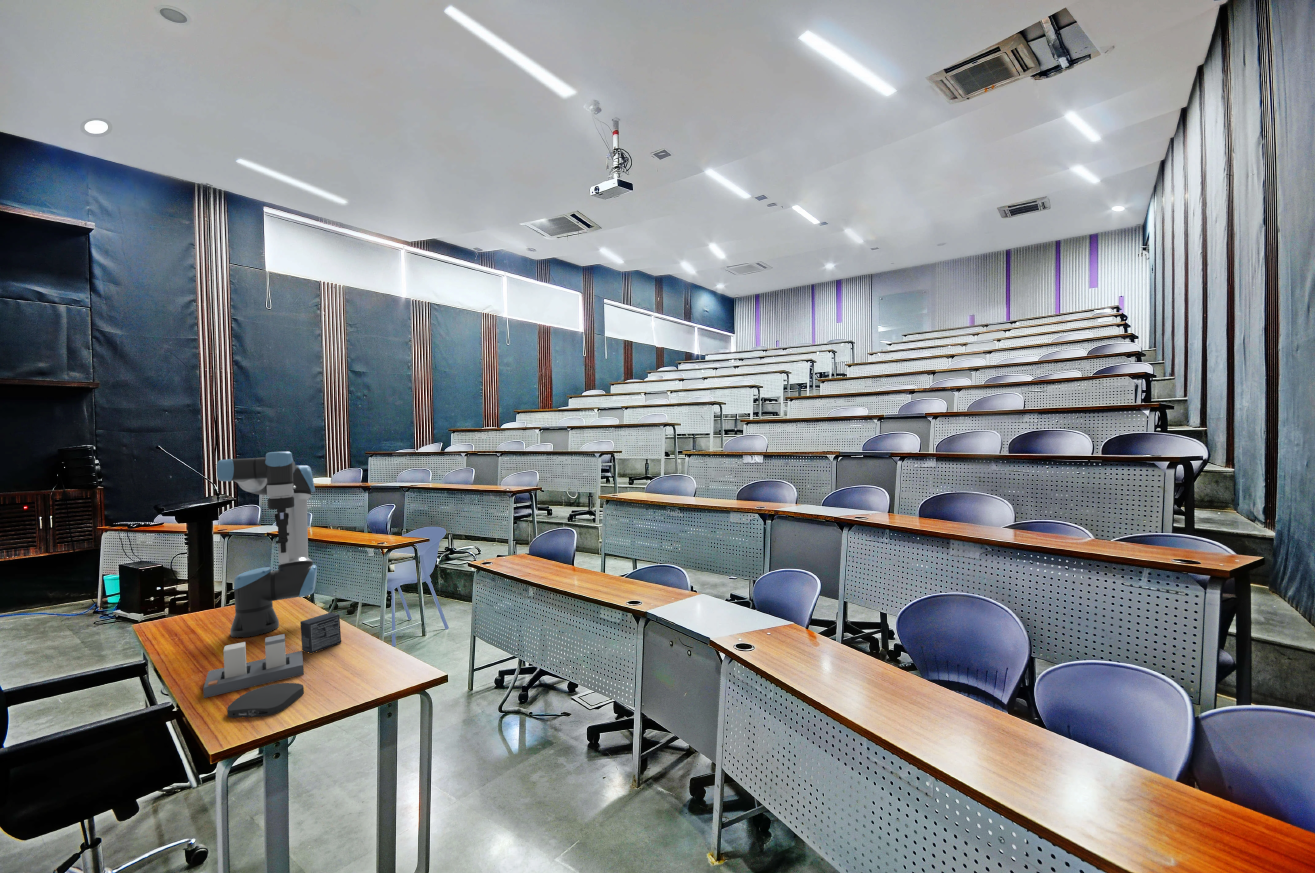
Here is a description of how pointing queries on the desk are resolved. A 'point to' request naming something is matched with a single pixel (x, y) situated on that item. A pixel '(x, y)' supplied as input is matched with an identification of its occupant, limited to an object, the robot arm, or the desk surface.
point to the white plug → (275, 651)
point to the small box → (320, 632)
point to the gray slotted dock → (248, 671)
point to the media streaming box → (265, 700)
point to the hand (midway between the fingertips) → (283, 558)
